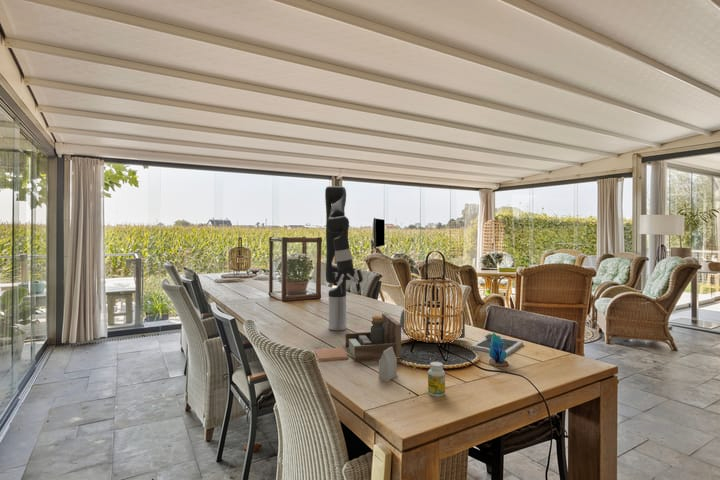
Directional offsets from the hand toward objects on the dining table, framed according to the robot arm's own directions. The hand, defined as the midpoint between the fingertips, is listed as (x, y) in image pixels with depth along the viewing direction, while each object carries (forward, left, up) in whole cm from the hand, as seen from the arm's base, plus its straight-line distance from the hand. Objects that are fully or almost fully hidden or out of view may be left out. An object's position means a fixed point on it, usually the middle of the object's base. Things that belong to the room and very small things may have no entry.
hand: (349, 292), depth 188 cm
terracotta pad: (+22, -12, -22) cm, 33 cm away
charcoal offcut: (+22, +2, -23) cm, 31 cm away
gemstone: (+47, +50, -23) cm, 72 cm away
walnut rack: (+22, +5, -22) cm, 31 cm away
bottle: (+22, +8, -23) cm, 32 cm away
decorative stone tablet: (+10, +38, -23) cm, 45 cm away
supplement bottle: (+67, +15, -23) cm, 72 cm away
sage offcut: (+22, -2, -23) cm, 31 cm away
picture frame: (+27, +62, -23) cm, 71 cm away
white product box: (+50, +4, -23) cm, 55 cm away
